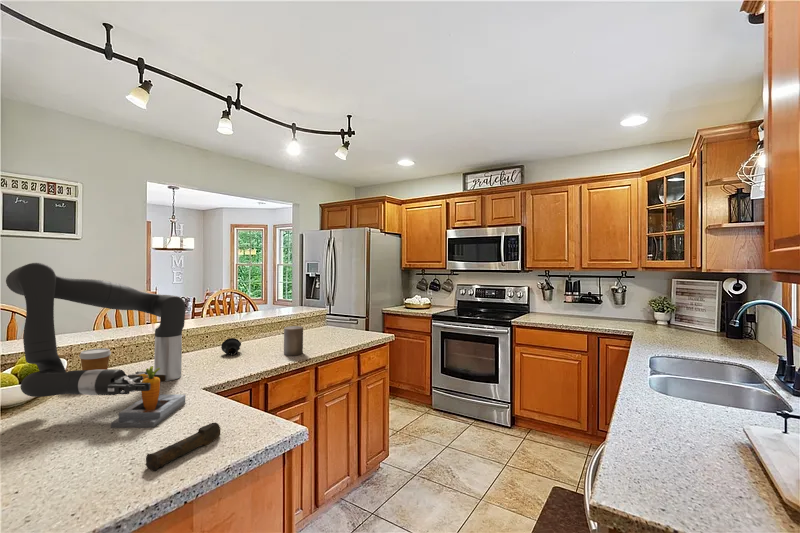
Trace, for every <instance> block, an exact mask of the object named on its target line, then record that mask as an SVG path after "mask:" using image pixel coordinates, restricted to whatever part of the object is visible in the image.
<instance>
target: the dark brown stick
mask: <svg viewBox="0 0 800 533" xmlns="http://www.w3.org/2000/svg"><path fill="white" fill-rule="evenodd" d="M220 436H221V426H220V424H219V423H217V422H211V423H209V424H206V425H203V426H201V427H200V428H198V430H197V432H195V433H194V434H192V435H189V436H187V437H185V438H183V439H181V440H179V441H177V442H174V443H173V444H170V445H168V446H166V447H164V448H161V449H159V450H157V451H155V452H153V453H147V454H146V457H145V465H146V469H147V470H149V471H152V472H156V471H157V470H158V469H159V468H163V467H164V465H166V464H168V463H170V462H172V461H174V460H176V459H178V458H179V457H182V456H184V455H185V454H187V453H190V452H191V451H194V450H196V449H197V448H198V447H205V446H208V445H210V444H211V443H213V442H214V441H216V440H217V439H218V438H219V437H220Z"/></svg>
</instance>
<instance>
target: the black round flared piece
mask: <svg viewBox="0 0 800 533" xmlns="http://www.w3.org/2000/svg"><path fill="white" fill-rule="evenodd" d="M220 345H221V347H220V348H221V350H222V352H223V353H225V354H226V355H229V356H233V355H236V354H237V353H238V352H239V351H240V350H241V345H242V342H241V341H240V340H239V339H238V338H235V337H230V338H227V339H225V340H224V341H222V343H221V344H220Z"/></svg>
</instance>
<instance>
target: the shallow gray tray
mask: <svg viewBox="0 0 800 533" xmlns="http://www.w3.org/2000/svg"><path fill="white" fill-rule="evenodd" d="M185 404H186V394H177V393H176V394H175V393H174V394H168V393H167V394H164V393H163V394H160V393H159V398H158V402H157V405H156V408H155V410H146V409H145V407H144V404H143V400H142V398H141V399H139V400H138V401H136V402H134V403H132V404H131V405H129V406H128V407H126V408H124V409H123V410H121V411H119V412H118V418H116V419H115V420H113V421H111V422H110V428H111V429H120V428H121V429H128V428H132V429H133V428H138V429H140V428H141V429H143V428H147V429H148V428H151V429H152V428H155V427H157V426H158V425H159V424H160V423H162V422H163V421H164V420H166V419H167V418H169V416H171V415H172V414H174V412H176V411H177V410H179V409H180V408H181V407H183V406H184V405H185Z"/></svg>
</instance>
